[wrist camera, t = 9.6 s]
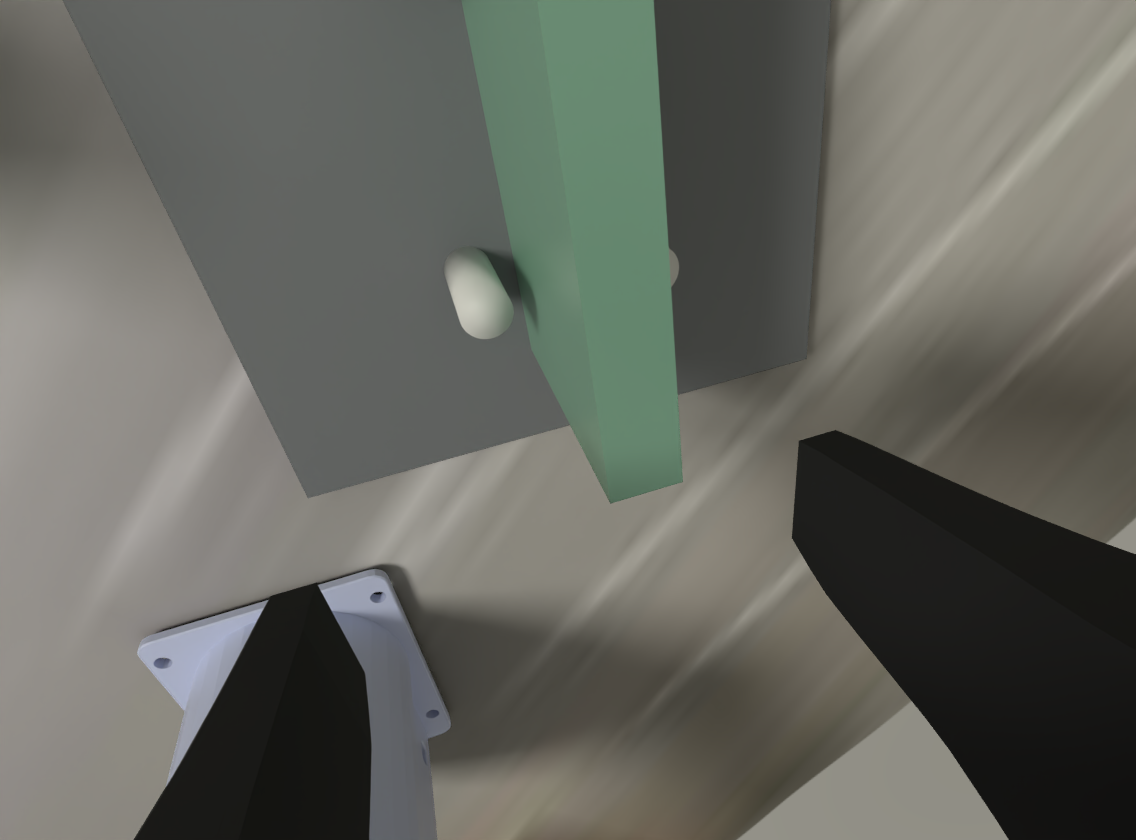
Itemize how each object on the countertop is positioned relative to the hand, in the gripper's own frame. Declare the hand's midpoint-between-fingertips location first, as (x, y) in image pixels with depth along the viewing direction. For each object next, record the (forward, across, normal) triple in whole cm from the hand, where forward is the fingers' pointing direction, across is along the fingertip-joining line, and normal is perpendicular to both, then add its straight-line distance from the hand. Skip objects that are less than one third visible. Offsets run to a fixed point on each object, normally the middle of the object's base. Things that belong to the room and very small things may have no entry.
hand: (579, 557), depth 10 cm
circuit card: (+9, -2, -5) cm, 11 cm away
